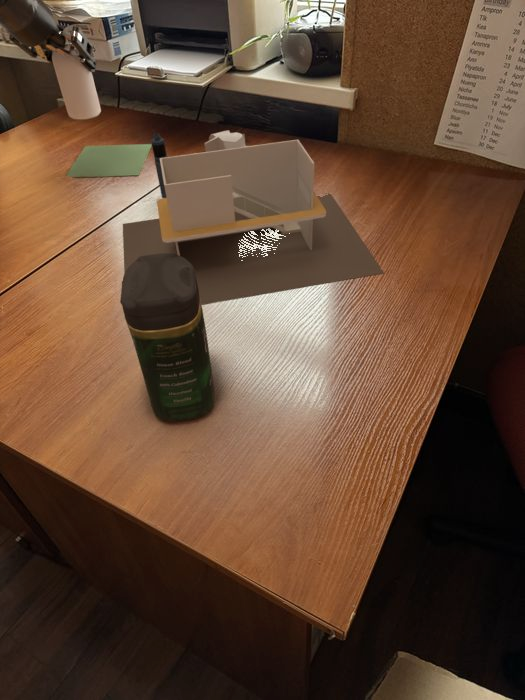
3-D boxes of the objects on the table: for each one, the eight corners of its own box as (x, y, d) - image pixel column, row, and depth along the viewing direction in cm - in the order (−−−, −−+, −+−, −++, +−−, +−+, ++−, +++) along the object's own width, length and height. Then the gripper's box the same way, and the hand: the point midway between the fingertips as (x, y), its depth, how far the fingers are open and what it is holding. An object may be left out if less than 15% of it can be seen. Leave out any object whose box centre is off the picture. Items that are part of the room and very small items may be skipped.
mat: (64, 178, 108) (64, 177, 107) (85, 146, 119) (85, 146, 119) (138, 175, 107) (138, 175, 107) (152, 144, 118) (152, 143, 118)
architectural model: (170, 280, 80) (152, 193, 69) (164, 238, 89) (147, 155, 78) (326, 255, 83) (330, 167, 72) (304, 216, 92) (306, 133, 81)
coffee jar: (219, 419, 60) (198, 297, 47) (152, 429, 59) (112, 308, 46) (212, 362, 66) (192, 241, 53) (152, 370, 66) (117, 250, 53)
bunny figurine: (234, 123, 115) (264, 137, 104) (237, 146, 118) (266, 162, 107) (195, 132, 112) (222, 148, 101) (200, 156, 115) (226, 173, 104)
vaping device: (167, 191, 101) (156, 130, 93) (187, 198, 99) (177, 136, 90) (158, 196, 100) (146, 135, 91) (178, 203, 97) (167, 141, 89)
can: (106, 115, 100) (89, 47, 92) (75, 123, 98) (55, 54, 90) (94, 106, 104) (78, 40, 96) (64, 114, 102) (44, 46, 93)
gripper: (58, -17, 78) (114, 48, 95) (-18, -17, 82) (48, 45, 98) (50, 31, 79) (107, 88, 95) (-26, 29, 82) (42, 84, 98)
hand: (77, 66), depth 96 cm, fingers closed on can, 6 cm apart
